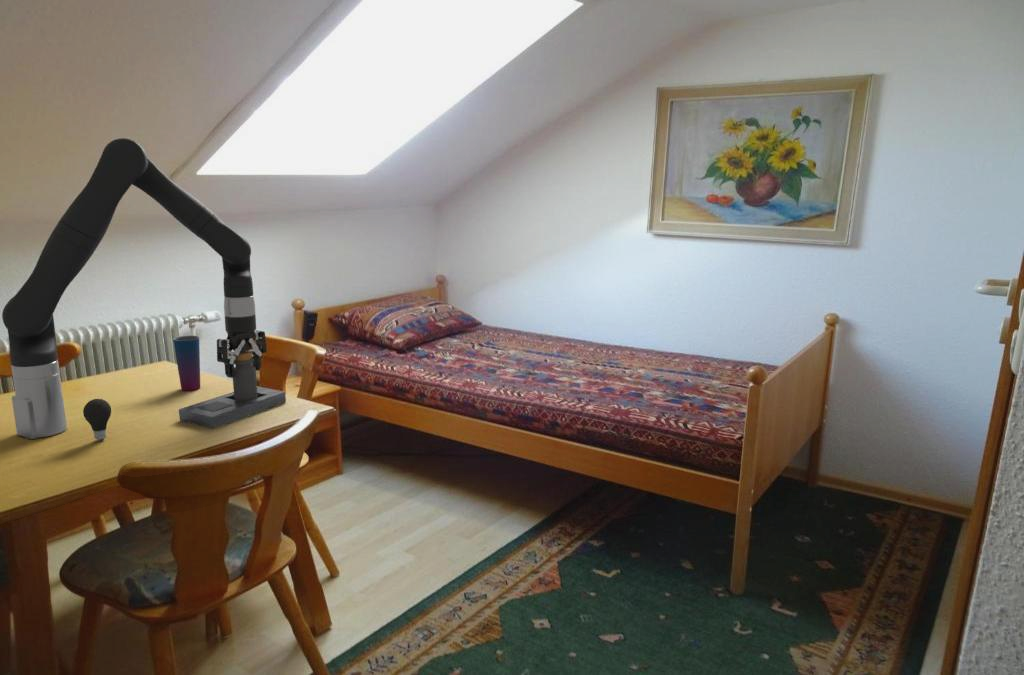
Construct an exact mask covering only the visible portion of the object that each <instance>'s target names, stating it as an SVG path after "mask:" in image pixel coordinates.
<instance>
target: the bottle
mask: <svg viewBox="0 0 1024 675" xmlns="http://www.w3.org/2000/svg"><path fill="white" fill-rule="evenodd" d="M252 356H253V355H252V351H244V352H241V353H239V355H238V356H237V357H236V358H235V360H234V362H233V364H234V373H235V377H233V378H232V386H233V387H232V388H233V392H234V400H238V401H242V402H247V401H250V400H253V399H256V398H258V395H257V386H258V383H257V382H258V381H257V371H256V368H255V367H254V366H252V363H253V362H254V359H253V358H252Z"/></svg>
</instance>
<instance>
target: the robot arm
mask: <svg viewBox="0 0 1024 675" xmlns="http://www.w3.org/2000/svg"><path fill="white" fill-rule="evenodd" d="M132 185H133V186H134V187H136V188H138V189H139V190H141V191H142V192H143V193H145V194H146V195H147V196H150V198H152V199H153V200H154V201H155V202H157V203H158V204H159V205H160V206H162V207H163V209H164V210H166V211H167V212H168V213H169V214H171V216H172V217H173V218H174V219H176V220H177V221H178V222H179V223H180V224H182V225H183V226H184V227H185V228H186V229H188V230H189V231H190V233H191V232H192V233H193V234H194V235H195V236H196V237H198V238H199V239H201V241H204V242H205V243H206V244H207V245H208V246H209V247H210V248H211V249H212V250H213V251H215V252H216V254H218V255H219V256H220V257H221V261H222V268H223V269H222V270H223V296H224V299H223V311H224V314H223V315H224V326H225V332H226V334H227V337H226V338H223V339H221V338H218V339H216V360H217V362H218V363H223V364H224V373H225V376H226V377H227V378H230V379H233V377H235V373H234V367H235V364H233V362H234V360H235V358H236V357H237V356H238V355H239V353H241V352H244V351H252V358H253V359H254V362H253V363H252V366H254V367H255V368H256V372H257V371H260V370H261V367H262V363H261V361H262V360H261V357H262V355H263V354H266V353H267V351H268V350H267V340H266V331H264V330H263V331H262V330H257V321H256V320H257V318H256V304H255V298H254V284H253V278H252V274H251V255H252V248H251V245H250V243H249V241H248V240H247V238H245V237H244V236H243V235H240V234H238V233H237V231H234V230H233V229H232V228H231V227H229V226H228V225H226V224H225V222H224V221H223V220H222V219H221V218H220V217H219V216H218V215H217V214H216V213H214V212H213V211H212V210H211V209H210V208H208V207H207V206H206V205H205V204H204V203H202V202H201V201H200V200H198V198H196V197H194V196H193V195H192V194H190V193H189V192H188V191H186V190H185V189H184V188H181V187H180V186H179V185H178V184H177V183H175V182H174V181H173V180H172V179H170V178H169V177H168V176H167V175H166V174H165V173H163V172H162V171H161V170H160V169H159V168H158V167H157V165H156V164H155V163H154V162H153V161H152V160H151V159H150V157H148V155H147V153H146V151H145V149H144V148H143V146H141V145H140V144H139V143H138V142H137V141H135V140H134V139H133V140H132V139H130V138H117V139H113V140H111V141H110V142H109V143H107V144H106V146H104V149H103V151H102V153H101V155H100V158H99V160H98V162H97V165H96V167H95V169H94V170H93V172H92V174H91V176H90V179H89V180H88V182H87V183H86V185H85V186H84V188H83V189H82V190H81V192H79V194H78V195H77V196H76V197H75V199H74V200H73V201H72V203H71V204H70V205H69V207H68V208H67V210H65V212H64V213H63V215H62V216H61V218H60V219H59V221H58V222H57V224H56V226H55V227H54V229H53V230H52V232H51V233H50V235H49V237H48V238H47V241H46V243H45V244H44V246H43V249H42V250H41V253H40V255H39V257H38V260H37V261H36V264H35V267H34V268H33V270H32V272H31V274H30V275H29V277H28V278H27V280H26V281H25V282H24V283H23V285H22V287H21V288H20V289H19V290H18V291H17V292H16V294H15V295H13V297H11V298H10V299H9V300H8V301H7V302H6V304H5V305H4V308H3V309H2V314H1V316H2V317H1V318H2V319H1V320H2V322H3V324H4V326H5V328H6V329H7V334H8V344H9V361H10V367H11V374H12V381H13V387H14V395H12V396H11V401H12V402H11V403H12V408H13V415H14V416H13V417H14V422H15V428H16V435H17V436H20V437H23V438H27V439H28V440H29V439H31V440H33V439H37V438H45V437H50V436H55V435H57V434H58V435H59V434H60V433H64V432H65V431H67V428H68V426H67V417H66V411H65V410H66V409H65V403H64V396H63V394H64V393H63V387H62V382H61V374H60V373H61V372H60V365H59V359H58V358H59V357H58V349H57V348H58V346H57V337H56V328H55V327H56V326H55V320H54V318H55V317H54V312H55V310H56V309H57V307H58V306H57V305H58V304H59V303H60V300H61V298H62V296H63V295H64V293H65V291H66V289H67V288H68V287H69V285H70V284H71V283H72V282H73V280H74V279H75V278H76V277H77V275H79V273H80V272H81V271H82V269H83V268H84V267H85V266H86V264H87V262H88V261H89V260H90V259H91V258H92V256H93V255H94V253H95V251H96V250H97V248H98V246H99V245H100V243H101V242H102V240H103V238H104V237H105V235H106V233H107V231H108V229H109V227H110V224H111V222H112V220H113V217H114V214H115V212H116V210H117V207H118V205H119V203H120V201H121V200H122V199H123V197H124V195H125V194H126V193H127V192H128V190H129V189H130V187H131V186H132Z"/></svg>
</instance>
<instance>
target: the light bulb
mask: <svg viewBox="0 0 1024 675" xmlns="http://www.w3.org/2000/svg"><path fill="white" fill-rule="evenodd" d="M82 410H83V412H82V413H83V417H84V419H85V420H86V421H87V422H88V424H89V425H90V426H91V430H92V431H93V437H94V440H98V442H102V441H104V439H106V438H107V427H108V426H107V424H108V422H109V420H110V418H111V414H112V407H111V405H110V403H109V402H108V401H106V400H105V399H102V398H93V399H91V400H89V401H88V402H87V403H86V404H85V405H84V407H83V409H82Z"/></svg>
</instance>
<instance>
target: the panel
mask: <svg viewBox="0 0 1024 675" xmlns="http://www.w3.org/2000/svg"><path fill="white" fill-rule="evenodd" d="M257 395H258V398H256V399H253V400H250V401H247V402H242V401H238V400H234V391H232V392H228V393H225V394H223V395H220V396H217V397H213V398H210V399H206V400H204V401H200V402H197V403H194V404H191V405H188V406H185V407H181V408H179V409H178V416H179V421H180V422H184V423H188V424H193V425H197V426H201V427H204V428H208V429H211V430H213V429H217V428H219V427H222V426H225V425H227V424H229V423H230V424H231V423H232V422H236V421H238V420H241V419H243V418H247V417H249V416H253V415H255V414H257V413H260V412H263V411H265V410H268V409H272V408H274V407H277V406H280V405H282V404H286V402H287V400H286V391H283V390H279V389H272V388H268V387H262V386H259V385H257Z"/></svg>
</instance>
